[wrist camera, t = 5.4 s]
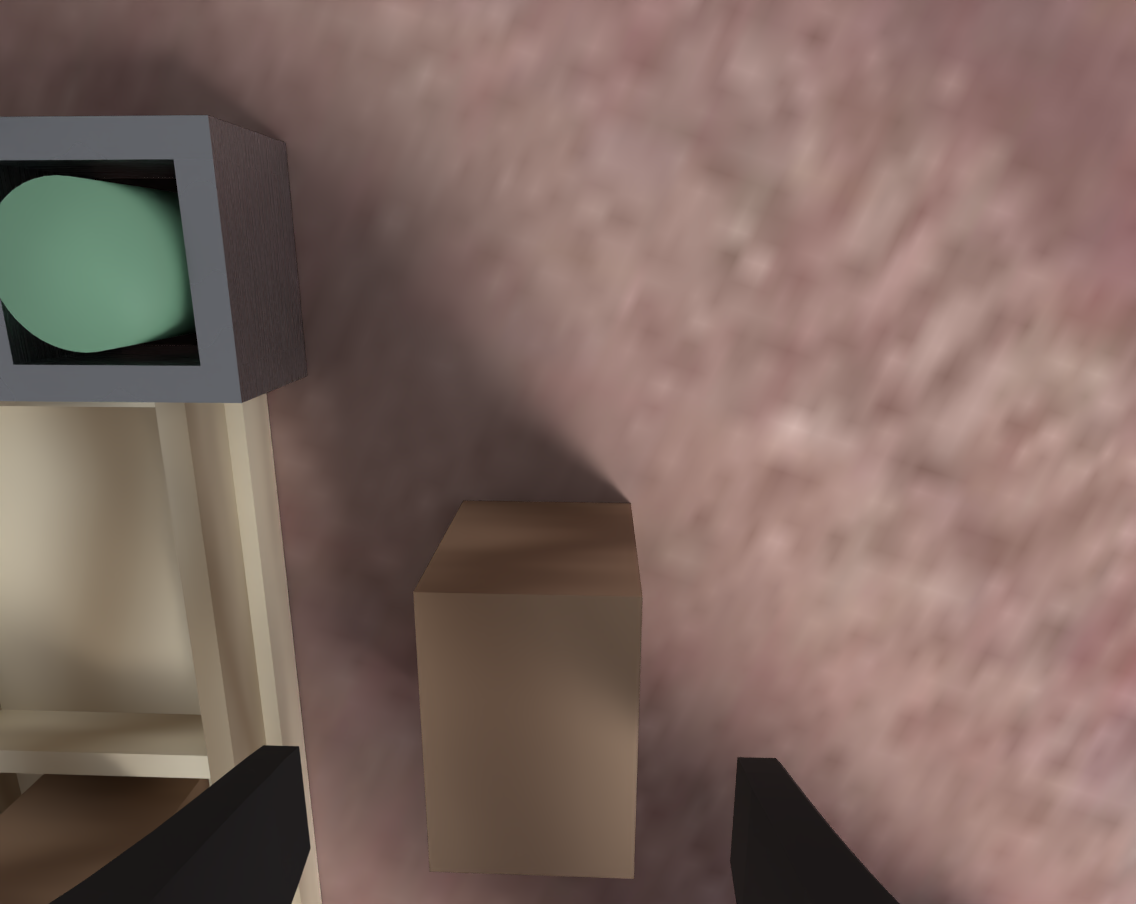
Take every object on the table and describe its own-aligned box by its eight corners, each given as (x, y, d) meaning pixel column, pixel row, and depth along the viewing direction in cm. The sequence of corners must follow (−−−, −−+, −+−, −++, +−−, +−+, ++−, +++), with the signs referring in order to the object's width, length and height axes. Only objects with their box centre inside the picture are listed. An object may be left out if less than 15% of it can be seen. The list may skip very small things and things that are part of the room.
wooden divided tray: (262, 358, 17) (200, 377, 14) (328, 965, 21) (291, 1064, 19) (-74, 356, 17) (-194, 374, 15) (63, 954, 22) (-10, 1050, 19)
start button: (234, 190, 15) (143, 174, 12) (250, 334, 16) (168, 353, 13) (95, 191, 16) (-30, 175, 12) (117, 333, 16) (5, 352, 13)
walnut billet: (630, 501, 17) (642, 596, 13) (624, 720, 19) (633, 878, 14) (463, 499, 18) (413, 591, 13) (472, 716, 19) (429, 871, 14)
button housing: (285, 143, 16) (207, 114, 13) (307, 375, 17) (242, 403, 14) (57, 144, 16) (-76, 117, 13) (96, 374, 17) (-15, 401, 14)
